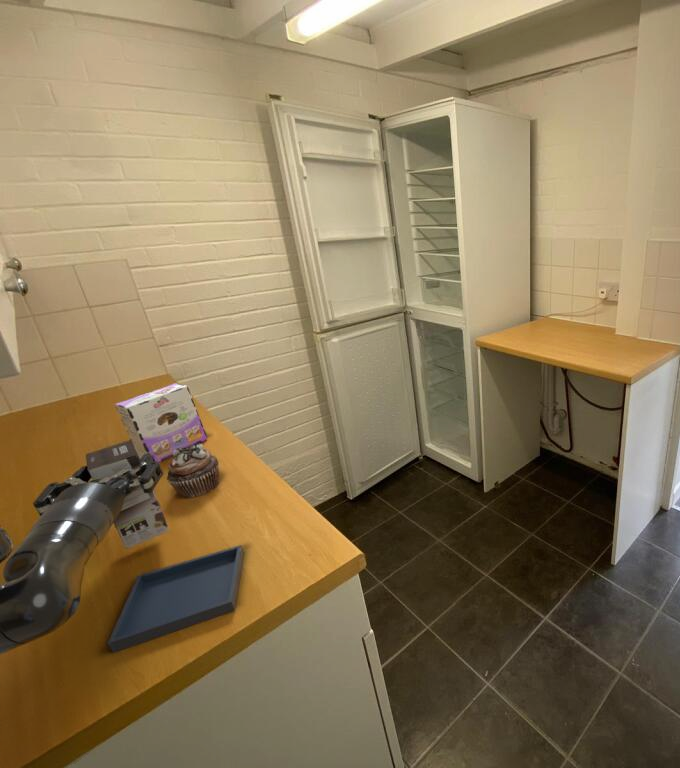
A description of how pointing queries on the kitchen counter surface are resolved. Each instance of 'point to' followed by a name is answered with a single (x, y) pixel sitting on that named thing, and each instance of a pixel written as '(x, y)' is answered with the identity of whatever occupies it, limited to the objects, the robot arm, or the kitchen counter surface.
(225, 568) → the tray
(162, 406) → the candy box
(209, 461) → the cupcake
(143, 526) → the coffee box
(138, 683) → the kitchen counter surface
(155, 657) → the kitchen counter surface
